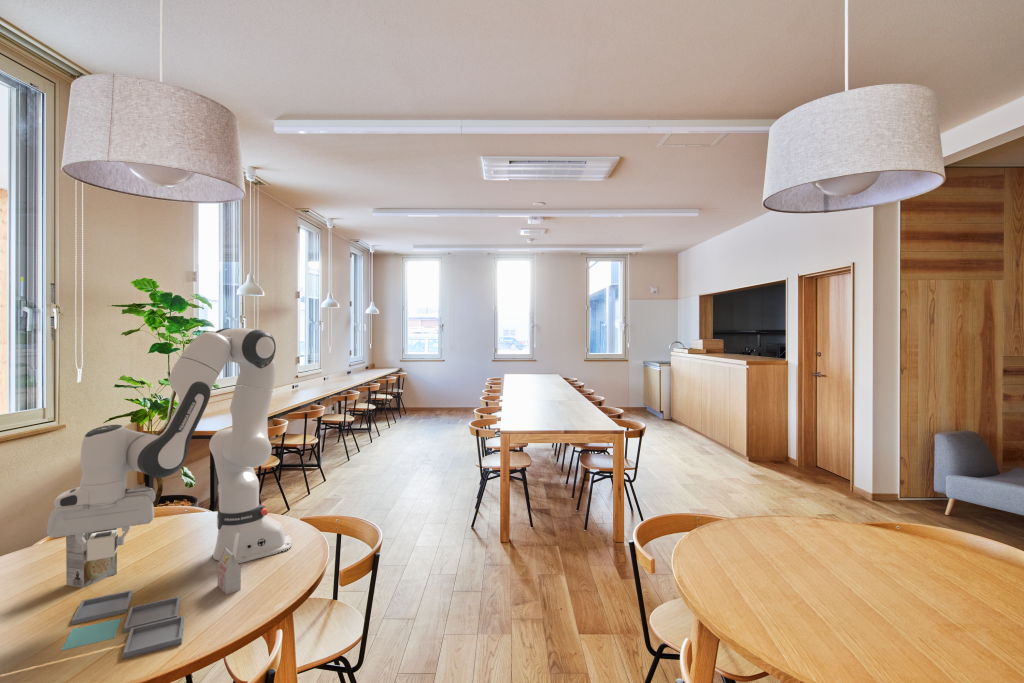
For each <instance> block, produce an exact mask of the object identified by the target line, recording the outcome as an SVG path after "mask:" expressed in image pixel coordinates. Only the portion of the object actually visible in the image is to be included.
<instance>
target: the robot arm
mask: <svg viewBox="0 0 1024 683" xmlns="http://www.w3.org/2000/svg"><path fill="white" fill-rule="evenodd" d="M276 348H277V346H276V341H275V338H274V336H273V335H272V334H271V333H269V332H266V331H264V330H262V329H253V328H248V327H247V328H246V327H240V328H238V327H237V328H231V327H225V328H221V329H217V330H216V331H206V332H202V333H200V334H199V335H198V336H196V338H194V339H193V340H192V342H191V343H189V345H187V347H186V349H185V350H184V351H183V352H182V353H181V355H180V356H179V358H178V359H177V361H176V362H175V364H174V366H173V367H172V369H171V372H170V374H169V376H168V381H169V385H170V387H171V388H172V390H173V391H174V392H175V393H176V394H177V397H178V404H177V406H176V408H175V411H174V412H173V414H172V416H171V418H170V420H169V422H168V424H167V425H166V427H165V429H164V431H163V432H162V433H160V434H159V435H157V434H153V433H152V434H151V433H147V432H140V431H136V430H132V429H129V428H127V427H124V426H123V425H122V424H110V425H109V424H108V425H103V426H98V427H96V428H93V429H91V430H89V431H88V432H86V434H85V435H84V436H83V439H82V443H81V447H80V463H79V464H80V469H81V472H82V474H81V479H80V481H79V486H78V487H74V488H71V489H69V490H66V491H63V492H62V493H60V494H59V495H58V496H56V498H55V499H54V501H53V506H54V509H53V510H51V512H50V513H49V516H48V522H47V527H46V535H47V536H48V537H49V538H51V539H54V538H61V537H66V536H69V535H75V539H76V540H77V541H78V542H79V544H80V545H81V551H87V541H86V540H85V539H84V538H83V536H84V535H85V533H89V532H96V531H102V530H109V529H116V528H117V529H121V532H122V535H120V536H119V535H118V537H117V538H116V542H117V543H116V546H123V545H124V544H125V537H126V536H127V534H128V533H129V531H130V529H131V527H134V526H141V525H147V524H148V525H149V524H150V523H151V522H153V520H154V518H155V506H154V502H155V501H156V490H155V489H153V488H151V487H149V486H141V487H132V488H127V478H128V477H127V476H128V473H129V472H134V471H135V472H139V473H143V474H146V475H148V476H150V477H152V478H157V479H160V478H161V479H162V478H166V477H170V476H172V475H174V474H175V473H177V472H178V471H180V469H181V468H182V467H183V465H184V464H185V462H186V460H187V458H188V452H189V447H190V443H191V440H192V438H193V435H194V432H195V431H196V429H197V427H198V425H199V423H200V421H201V418H202V417H203V415H204V412H205V410H206V409H207V406H208V403H209V401H210V398H211V392H212V390H213V387H214V384H215V383H216V381H217V379H218V378H219V376H220V374H221V372H222V370H223V369H224V367H225V365H226V364H227V363H228V362H231V363H235V364H236V363H237V364H238V366H239V374H238V376H237V379H236V382H235V386H234V391H233V393H232V394H233V395H232V398H231V403H230V405H229V411H230V415H231V421H232V422H231V425H232V426H231V427H229V428H224V429H219V430H218V431H216V432H215V433H214V434H213V435H212V436H211V437H210V440H209V445H208V446H209V450H210V453H211V454H212V457H213V461H214V465H215V471H216V475H217V481H218V488H219V490H218V491H219V492H218V494H219V496H218V497H219V498H218V499H219V500H218V502H219V506H218V507H219V509H218V510H217V514H216V527H217V537H216V543H215V548H214V551H213V554H212V558H213V559H214V560H215V561H218V562H219V561H220V559H221V556H222V554H223V552H224V548H227V549H228V550H229V551H230V552H231V553H232V554H233V555H234V557H235V559H236V561H237V563H238V564H242V563H245V562H250V561H253V560H257V559H261V558H263V557H267V556H272V555H274V554H279V553H282V552H281V551H283V552H286V551H288V550H289V549H288V548H290V546H291V545H292V546H293V540H292V538H291V536H290V535H289V534H287V533H285V530H284V527H283V525H282V523H281V522H280V521H278V520H276V519H274V518H272V517H270V515H268V514H269V510H268V508H267V506H266V505H265V504H264V503H260V481H259V478H258V477H257V474H256V471H255V468H258V467H261V466H263V465H264V464H266V463H267V461H269V459H270V457H271V455H272V450H273V449H272V448H273V447H272V444H271V442H270V440H269V430H268V429H269V426H268V425H269V424H268V421H269V420H268V416H269V411H270V410H269V409H270V405H271V400H272V397H273V390H274V386H275V382H276V370H277V368H276V367H277V366H276V365H277V364H276V362H275V360H274V357H275V356H276V355H275V354H276V350H277V349H276ZM292 546H291V547H292ZM287 549H288V550H287ZM290 549H291V548H290ZM285 550H286V551H285ZM278 552H279V553H278Z"/></svg>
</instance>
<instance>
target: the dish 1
mask: <svg viewBox="0 0 1024 683" xmlns="http://www.w3.org/2000/svg"><path fill="white" fill-rule="evenodd" d="M133 594H134V589H130V590H126V591H122V592H121V591H120V592H117V593H113V594H111V593H110V594H106V595H102V596H101V595H100V596H97V597H93V598H88V599H82V600H81V602H80V604H79V605H78V607H77V609H76V612H75V613H74V615H73V616H72V618H71V623H70V624H71V626H73V625H76V624H82V623H86V622H91V621H95V620H99V619H104V618H108V617H114V616H117V615H122V614H126V613H127V612H128V610H129V606H130V603H131V600H132V597H133Z"/></svg>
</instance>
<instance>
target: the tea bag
mask: <svg viewBox="0 0 1024 683" xmlns="http://www.w3.org/2000/svg"><path fill="white" fill-rule="evenodd" d="M239 564H240V563H237V561H236V559H235V557H234V555H233V554H232V553H231V552H230V551H229V550H228V549H227V548H224V552H223V554H222V556H221V559H220V561H218V563H217V587H218V588H219V589H220V591H222V593H223V594H224V595H225V596H227V595H229V594H232V593H235V592H238V591H241V590H242V589H241V586H242V585H241V582H242V581H241V580H242V578H241V577H242V575H241V573H242V568H241V566H240V565H239Z"/></svg>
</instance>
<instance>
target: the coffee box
mask: <svg viewBox="0 0 1024 683" xmlns="http://www.w3.org/2000/svg"><path fill="white" fill-rule="evenodd" d="M111 530H118V528H116V529H109V530H102V531H96V532H89V533H85V535H84V536H83V538H84V539H85V540H86V541H87V540H88V539H89V538H90V536H91V535H92V533H98V532H105V531H111ZM65 538H66V539H65V545H66V546H65V549H66V550H65V553H66V555H65V558H66V560H65V562H66V563H65V564H66V566H65V567H66V568H65V571H66V574H65V575H66V577H65V578H66V580H65V581H66V582H65V583H66V586H71V587H76V588H86V587H88V586H90V585H92V584H95V583H97V582H100V581H102V580H103V579H106V578H110V577H112V576H114V575H117V574H118V567H117V566H118V561H117V560H118V556H117V554H118V550H117V551H116V553H115V555H114V557H109V558H103V559H97V560H91V561H87V551H81V545H80V544H79V542H78V541H77V540H76V539H75V535H69V536H65Z"/></svg>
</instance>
